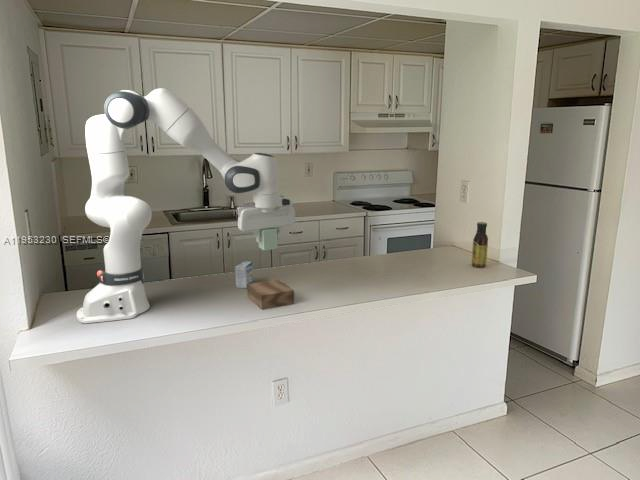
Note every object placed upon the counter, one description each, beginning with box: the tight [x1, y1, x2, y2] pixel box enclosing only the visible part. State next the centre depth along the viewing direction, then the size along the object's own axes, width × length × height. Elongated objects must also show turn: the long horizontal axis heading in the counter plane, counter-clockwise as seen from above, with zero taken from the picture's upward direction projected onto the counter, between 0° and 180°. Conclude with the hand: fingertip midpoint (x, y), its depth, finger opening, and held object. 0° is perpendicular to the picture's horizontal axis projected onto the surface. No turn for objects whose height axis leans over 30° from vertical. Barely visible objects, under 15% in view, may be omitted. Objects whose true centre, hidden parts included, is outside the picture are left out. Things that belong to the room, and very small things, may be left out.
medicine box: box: [234, 260, 254, 289], centre depth 186 cm, size 8×4×9 cm, turn 168°
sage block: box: [257, 227, 279, 251], centre depth 164 cm, size 5×5×7 cm
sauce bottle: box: [471, 221, 489, 268], centre depth 210 cm, size 7×6×20 cm
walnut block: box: [246, 278, 295, 310], centre depth 169 cm, size 12×14×5 cm
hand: (267, 240), depth 165 cm, fingers closed on sage block, 5 cm apart
